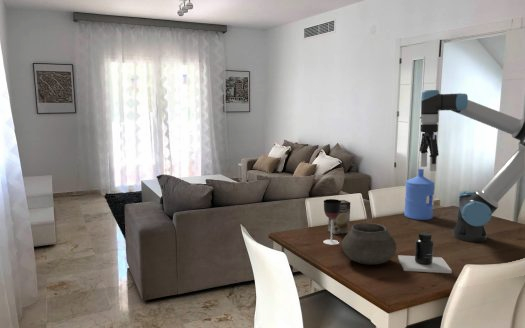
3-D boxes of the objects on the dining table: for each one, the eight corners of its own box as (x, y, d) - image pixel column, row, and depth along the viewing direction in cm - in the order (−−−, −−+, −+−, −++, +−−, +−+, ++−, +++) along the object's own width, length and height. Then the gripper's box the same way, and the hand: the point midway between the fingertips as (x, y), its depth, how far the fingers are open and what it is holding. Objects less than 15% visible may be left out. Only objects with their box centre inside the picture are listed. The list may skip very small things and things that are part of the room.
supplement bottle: (430, 266, 169) (432, 237, 167) (412, 263, 173) (414, 234, 171) (433, 261, 175) (435, 233, 173) (416, 257, 178) (418, 230, 177)
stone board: (441, 260, 179) (442, 257, 179) (451, 273, 166) (451, 270, 166) (397, 258, 182) (398, 255, 182) (403, 270, 168) (403, 267, 168)
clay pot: (362, 275, 164) (363, 237, 162) (332, 256, 183) (333, 223, 181) (406, 266, 173) (408, 230, 170) (373, 250, 192) (374, 217, 190)
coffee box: (333, 234, 214) (334, 203, 212) (327, 231, 220) (328, 200, 218) (349, 232, 217) (350, 202, 215) (343, 229, 223) (344, 199, 221)
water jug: (406, 219, 242) (409, 171, 238) (402, 212, 257) (404, 167, 253) (435, 221, 239) (438, 172, 235) (429, 213, 255) (432, 167, 251)
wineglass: (341, 240, 205) (343, 200, 202) (337, 246, 197) (338, 204, 194) (325, 238, 208) (326, 198, 205) (320, 243, 200) (321, 202, 198)
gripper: (413, 122, 210) (412, 165, 213) (429, 125, 186) (428, 172, 188) (429, 122, 210) (428, 164, 212) (447, 124, 185) (445, 172, 188)
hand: (428, 168), depth 200 cm, fingers open, 13 cm apart
